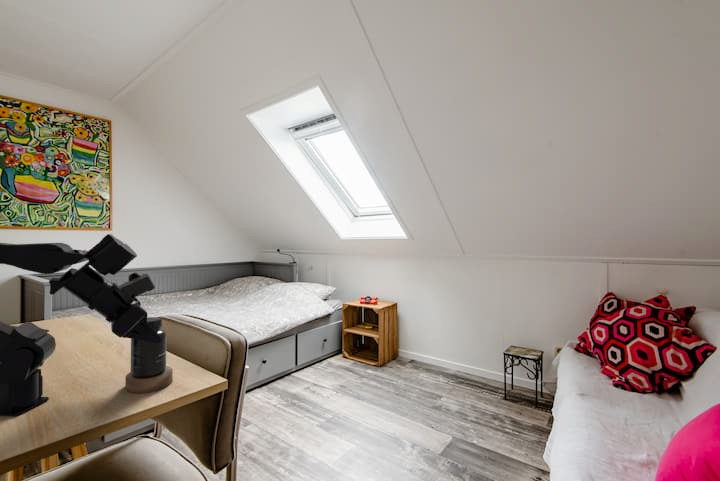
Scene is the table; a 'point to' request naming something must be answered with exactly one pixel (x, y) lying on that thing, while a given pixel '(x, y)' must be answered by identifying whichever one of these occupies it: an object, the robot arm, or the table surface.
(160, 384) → the walnut stand
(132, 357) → the supplement bottle
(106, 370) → the table surface
